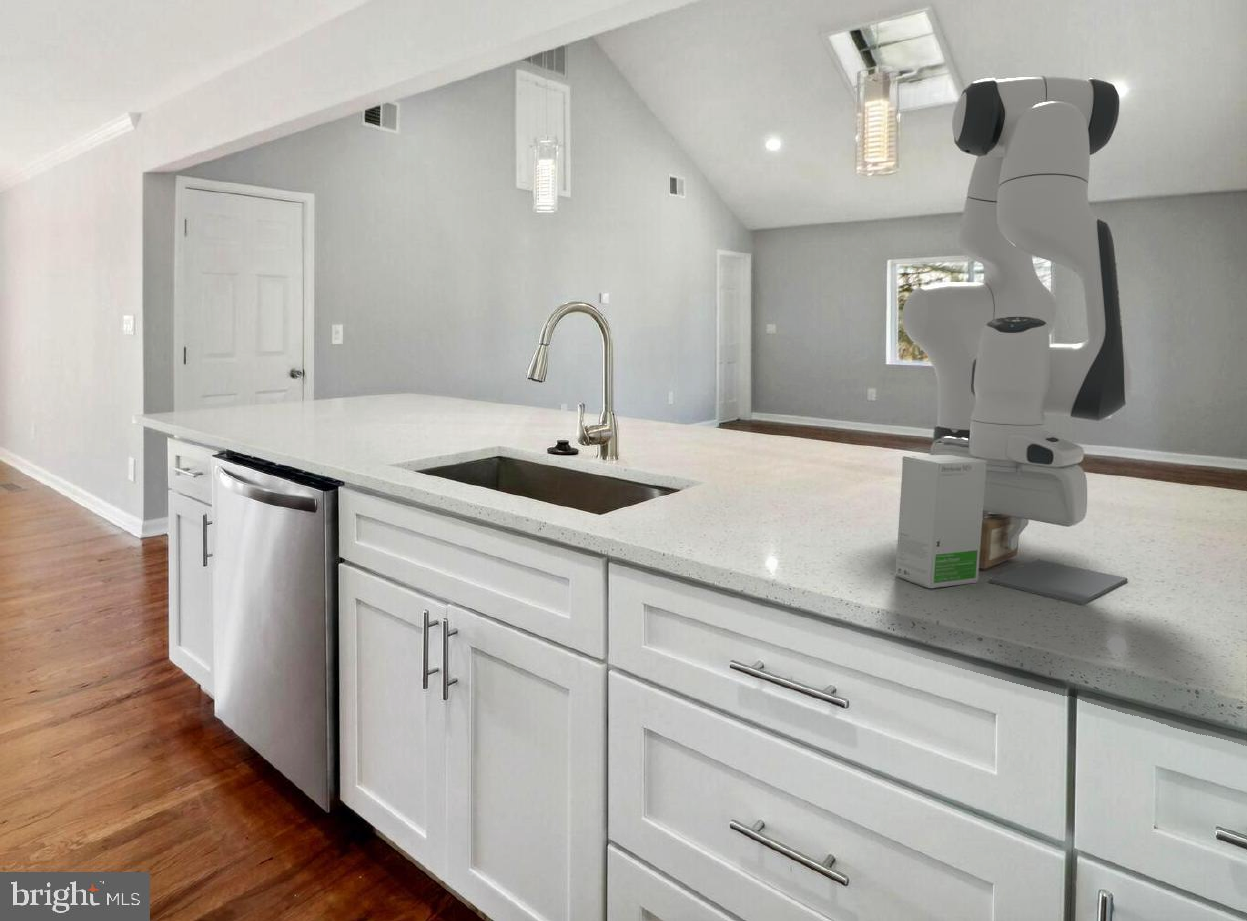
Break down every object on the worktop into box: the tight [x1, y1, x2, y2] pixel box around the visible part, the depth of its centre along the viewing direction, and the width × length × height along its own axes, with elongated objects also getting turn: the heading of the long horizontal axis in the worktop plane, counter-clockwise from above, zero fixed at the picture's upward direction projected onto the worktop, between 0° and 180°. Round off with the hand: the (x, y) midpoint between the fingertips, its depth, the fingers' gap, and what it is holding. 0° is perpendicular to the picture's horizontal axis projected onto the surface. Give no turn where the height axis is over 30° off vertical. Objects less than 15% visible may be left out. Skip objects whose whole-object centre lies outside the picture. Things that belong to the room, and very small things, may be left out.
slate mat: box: [987, 558, 1128, 605], centre depth 103 cm, size 14×11×1 cm
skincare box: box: [895, 454, 987, 589], centre depth 103 cm, size 8×7×16 cm
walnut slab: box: [979, 514, 1020, 569], centre depth 110 cm, size 9×2×6 cm, turn 129°
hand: (996, 545), depth 110 cm, fingers closed on walnut slab, 2 cm apart
